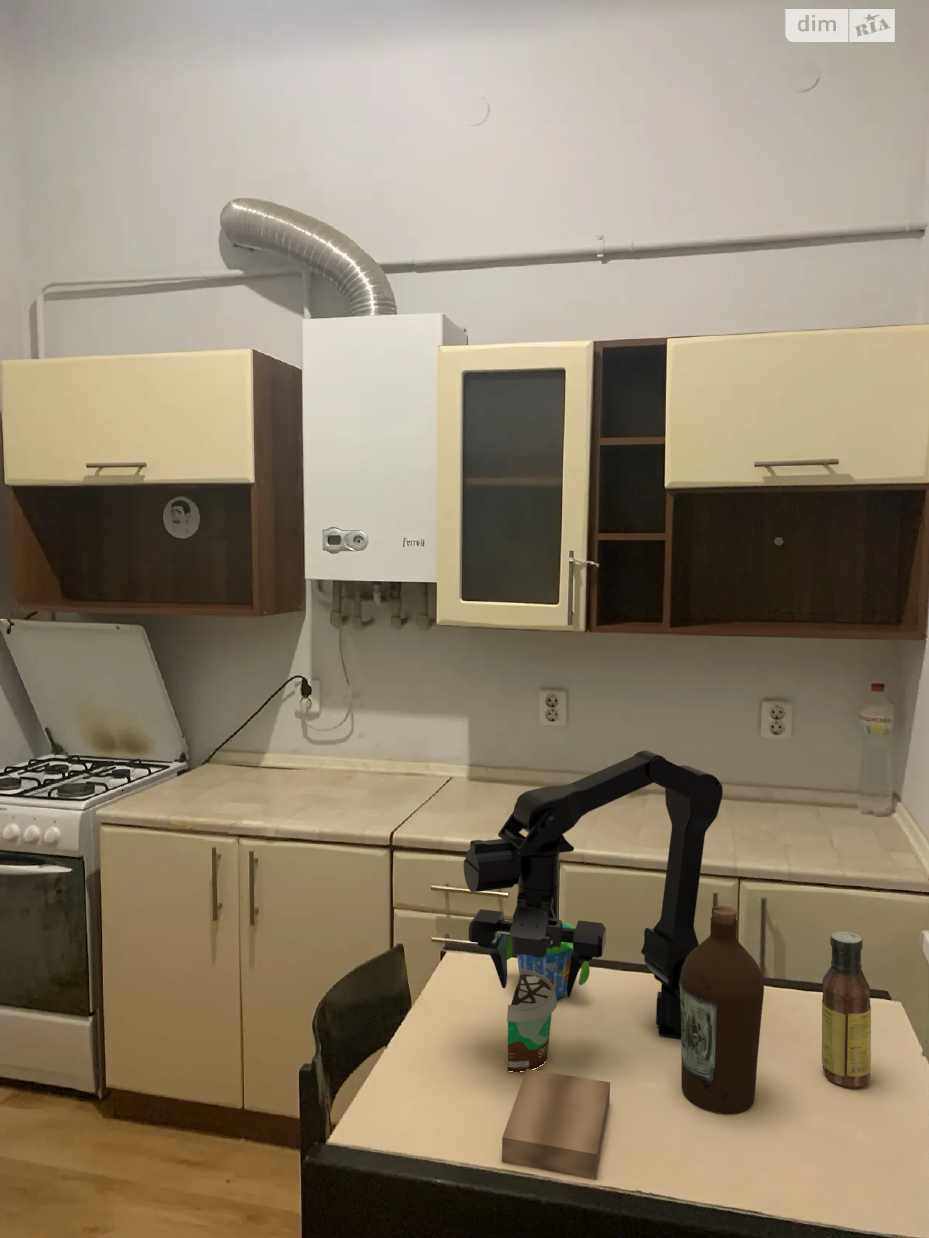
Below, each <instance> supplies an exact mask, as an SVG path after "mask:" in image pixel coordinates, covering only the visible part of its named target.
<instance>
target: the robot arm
mask: <svg viewBox="0 0 929 1238" xmlns="http://www.w3.org/2000/svg"><path fill="white" fill-rule="evenodd" d="M652 784H655V785H657V786H659V787H661V788H664V793H665V806H666V810H667V813H668V816H669V820H670V823H671V830H670V831H671V832H670V841H669V848H668V856H667V863H666V872H665V880H664V887H663V888H664V889H663V898H662V904H661V905H662V906H661V912H660V913H661V914H660V918H659V921H658V922H657V923H656V924H655V926H654V927H652V928H650V927H645V929H644V931H643V935H644V936H643V937H644V938H643V939H644V940H643V942H644V943H643V946H642V948H641V951H640V953H641V954H642V955H643V956H644V957H643V958H644V964H645V965H646V967H647V968H648V969H649V970H650V971H651V972H652V975H653V977H654V978H653V979H655V980H656V981H658V982H659V983H661V986H660V987H661V988H660V991H657V993H656V1007H655V1008H656V1009H655V1024H656V1026H658V1035H659V1036H663V1037H668V1038H669V1037H670V1038H676V1039H681V999H680V976H681V970H682V967H683V964H684V962H685V959H686V957H687V956H688V955H689V953H690V952H691V951H692V950H694V949H695V948H696V947H697V946H698V945H700V943H699V939H698V936H697V933H696V930H695V921H696V920H695V919H696V918H695V917H696V912H697V911H696V910H697V903H698V896H699V895H698V893H699V889H700V888H699V887H700V878H701V871H702V863H703V854H704V847H705V837H706V833H707V831H708V829H709V828H710V826H711V825H712V824H713V822H714V821H715V820H716V819H717V816H718V814H719V810H720V807H721V803H722V800H723V795H724V787H723V784H722V783H721V781H720V780H719V779H718V778H717V777H716V776H715V775H713V774H711V773H708V772H706V771H704V770H703V771H702V770H700V769H698V768H695V767H692V766H688V765H684V764H683V765H677V764H675V763H673V762H671V761H669V760H667V759H666V757H664V756H662V755H661V754H658V753H656V752H652V751H650V750H641V751H638V752H636V753H635V754H634V755H632V756H630V757H629V758H628V757H627V758H626V759H624V760H621V761H619V762H616V763H614V764H612V765H610V766H607V767H606V768H603V769H601V770H599V771H596V772H594V773H592V774H590V775H587V776H585V777H583V778H580V779H578V780H576V781H573V782H571V783H568V784H563V785H552V786H551V785H550V786H542V787H540V788H535V789H531V790H527V791H525V792H523V793H521V794H520V795H519V796H518V797H517V798H516V802H515V804H514V807H513V811H512V813H511V814H510V815H509V817H508V818H507V820H506V821H505V823H504V824H503V825H502V827H501V829H500V831H499V832H498V834H497V836H498V837H499V839H498V838H497V839H496V838H495V839H487V840H483V839H482V840H481V839H474V840H473V839H472V840H471V841H470V843H469V849H468V850H467V851H466V853H465V858H464V859H463V874H464V878H465V879H464V880H465V883H466V886H467V888H468V891H470V893H478V892H479V893H481V892H489V891H497V890H503V889H504V890H506V889H512V888H513V887H515V885H517V896H516V899H517V900H516V907H515V909H514V911H513V915H512V921H511V920H505V914H504V911H500V910H499V911H498V910H491V909H479V910H478V911H477V912H475V914H474V916H473V917H472V919H471V921H470V922H469V924H468V925H469V926H468V941H469V942H470V943H476V944H477V946H478V948H480V949H483V950H485V951H486V952H487V953H488V955H489V956H490V958H491V960H492V962H493V965H494V967H495V970H496V973H497V976H498V979H499V982H500V985H501V988H502V989H506V987H507V986H508V985H507V983H508V960H507V949H506V935H509V936H510V944H511V952H512V953H513V955H516V956H517V955H521V954H523V955H531V956H534V957H537V958H540V957H544V956H545V955H546V953H547V948H549V949H553V947H561V942H567V943H573V951H572V954H571V958H570V969H569V976H568V982H567V992H566V997H567V998H570V996H571V994H572V991H573V989H574V985H575V983H576V979H577V977H578V974H579V972H580V971H581V966H582V965H583V963H584V962H585V961H588V962H592V961H593V959H594V958H596V959H597V958H601V957H602V956H603V953H604V951H605V946H606V942H607V929H606V928H607V927H606V926H605V925H604V923H602V922H596V921H587V920H580V919H579V920H578V921H577V923H576V926H575V927H574V928H575V929H573V928H564V927H563V925H562V922H563V921H562V920H561V919H559V897H560V896H559V894H560V893H559V890H560V889H559V888H560V886H559V885H560V878H559V877H560V854H561V853H571V852H573V851H574V850H575V847H574V846H573V845H572V844H570V842H569V841H568V840H567V839H566V838H565V836H564V834H565V833H567V832H569V831H570V830H572V829H573V828H574V827H575V826H576V825H577V823H578V822H579V821H580V819H581V818H582V817H583V816H585V815H587V814H588V813H590V812H592V811H594V810H596V809H599V808H601V807H603V806H605V805H608V804H610V803H612V802H614V801H617V800H619V799H621V798H623V797H626V796H627V795H629V794H632V793H634V792H636V791H638V790H640V789H643V788H645V787H648V786H649V785H652ZM521 831H525V832H526V833H527V835H526V836H525V835H524V834H522V833H520V832H521Z"/></svg>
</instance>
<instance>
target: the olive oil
mask: <svg viewBox="0 0 929 1238" xmlns="http://www.w3.org/2000/svg"><path fill="white" fill-rule="evenodd" d="M737 915H738V911H737V910H736V909H735V908H733V907H731V906H728V905H727V906H726V905H716V906H713V907H711V917H710V924H709V925H710V930H709V931H710V933H709V934H710V935H708V937H706V939H705V940H703V941H702V942H701V943H699V945H698V946H697V947H696V948H695V949H694V950H692V951H691V952H690V953H689V955H688V956H687V957H686V959H685V962H684V964H683V967H682V970H681V976H680V999H681V1038H680V1040H681V1042H680V1043H681V1045H680V1046H681V1048H680V1049H681V1054H680V1055H681V1057H680V1058H681V1069H680V1070H681V1076H680V1077H681V1081H680V1082H681V1084H680V1085H681V1091H682V1094H683V1095H684V1096H685V1098H686V1099H687V1100H688V1101H689V1102H690V1103H692V1104H694V1105H695V1106H696V1107H698V1108H700V1109H703V1110H704V1111H708V1112H710V1113H711V1112H712V1113H715V1114H721V1115H733V1114H740V1113H744V1112H746V1111H747V1110H749V1109H750V1108H752V1107H753V1105H754V1103H755V1099H756V1086H757V1070H758V1068H757V1067H758V1059H759V1048H760V1047H759V1045H760V1036H761V1024H762V1013H763V1005H764V1004H763V1003H764V994H765V985H764V979H763V975H762V971H761V968H760V966H759V964H758V962H757V961H756V960H755V959H754V957H753V956H752V955H751V954H750V953H749V952H748V950H746V948H745V947H744V945H742V943H740V941H739V939H738V937H737V936H738V935H737V933H738V921H737V917H738V916H737Z"/></svg>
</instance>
